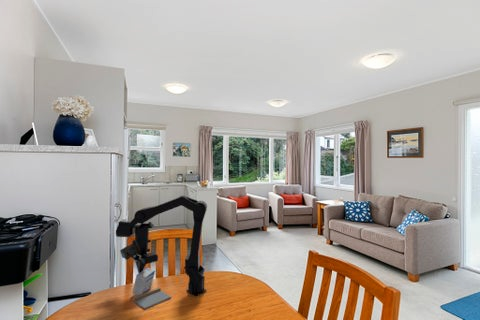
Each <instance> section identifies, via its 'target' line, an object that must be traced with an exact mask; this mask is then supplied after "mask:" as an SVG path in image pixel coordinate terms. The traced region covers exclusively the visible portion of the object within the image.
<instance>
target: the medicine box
mask: <svg viewBox="0 0 480 320" xmlns="http://www.w3.org/2000/svg"><path fill="white" fill-rule="evenodd" d="M155 273H156V270H154V269H152V268H149V267H145V268H144V269H143V271H141V272H140V273H137V274H136V276H135V280H134V283H133V287H132V291H131V293H132V294H133V295H135V296H137V295H140V294H143V293H145V292H148V291H150V289H151V288H152V285H153V281H154V277H155ZM151 290H152V289H151Z"/></svg>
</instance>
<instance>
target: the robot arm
mask: <svg viewBox="0 0 480 320" xmlns="http://www.w3.org/2000/svg"><path fill="white" fill-rule="evenodd" d="M180 206H182V207H184V208H186V209H187V210H189V211H191V212H192V217H193V218H192V219H193V229H192V235H191V244H190V253H189V254H186V257H185V259H184V267H183V270H184V271H185V274H186V275H187V277H188V284H187V285H188V288H187V289H186V292H187V293H188V294H190V295H193V296H194V297H197V296H200V295H202V294H203V293H207V289H206V288H205V278H206V277H205V276H204V274H205V268H204V267H203V266H202V265H201V258H200V257H201V256H200V247H201V240H202V239H201V238H202V231H203V223H204V219H205V216H206V214H207V213H206V212H207V210H208V205H207V203H206V202H205V200H204V201H203V200H196V199H194V198H190V197H188V196H186V195H180V196H179V197H176V198H173V199H171V200H168V201H166V202H163V203H160V204H158V205H154V206H147V207H144V208H141V209H138V210H137V211H136V212H135V213H134V217H133V219H132V220H131V221H125V220H120V221H119V222H118V225H117V226H116V230H115V236H116V237H117V238H132V237H133V236H134V239H132V240H131V244H129V245H126V246H125V247H123V248H122V249H120V251H119V252H120V254H121V257H122V259H124V260H130V259H132V260H133V261H134V262H135V265H136V269H137V272H138V273H140V272H141V271H143V270H144V269H145V268H146V265H148V264H152V263H154V262H158V261H159V255H158V254H156V253H155V252H151V249H150V248H149V243H151V239H149V237H150V236H149V235H150V229H153V228H154V227H155V225H154V223H152V222H151V221H149V220H151V219H152V218H154V217H156V216H157V215H160V214H163V213H165V212H167V211H171V210H173V209H176V208H178V207H180ZM147 221H149V222H147ZM146 222H147V223H146ZM138 273H137V274H138Z"/></svg>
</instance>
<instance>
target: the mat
mask: <svg viewBox="0 0 480 320" xmlns="http://www.w3.org/2000/svg"><path fill="white" fill-rule="evenodd" d="M171 299H172V296H171V295H169V294H168V293H166V292H164V291H163V290H161V287H160V286H159V287H156V288H154V289H151V290H150V289H149V290H148V291H147V292H145V293H143V294H140V295H135V296H133V297H132V302H134V303H135V305H138V306H139V307H140V308H142V309H143V310H144V311H145V310H148V309H149V308H152V307H154V306H157V305H158V304H161V303H163V302H166V301H168V300H171Z"/></svg>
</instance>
